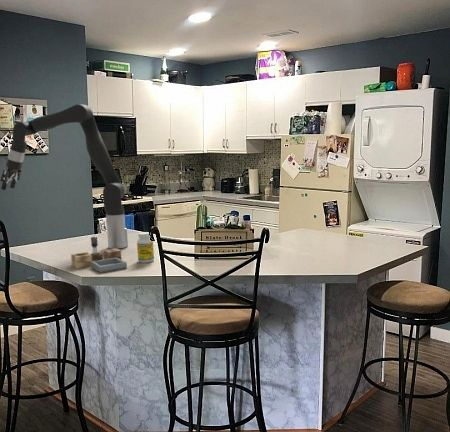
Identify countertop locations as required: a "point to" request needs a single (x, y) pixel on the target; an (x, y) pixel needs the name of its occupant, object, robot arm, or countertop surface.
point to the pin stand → (97, 257)
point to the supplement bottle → (145, 248)
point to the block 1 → (81, 260)
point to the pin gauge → (94, 245)
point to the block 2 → (112, 253)
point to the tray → (108, 265)
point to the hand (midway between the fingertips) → (7, 188)
